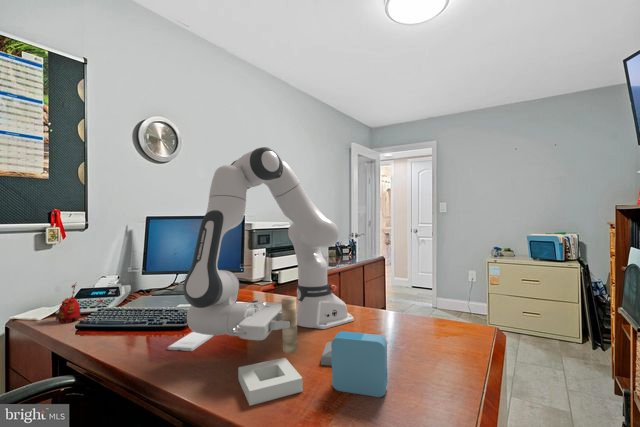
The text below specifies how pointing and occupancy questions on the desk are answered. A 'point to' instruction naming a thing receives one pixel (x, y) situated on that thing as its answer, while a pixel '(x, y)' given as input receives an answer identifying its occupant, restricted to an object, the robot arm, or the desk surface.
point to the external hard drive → (190, 342)
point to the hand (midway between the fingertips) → (292, 320)
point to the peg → (291, 332)
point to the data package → (359, 363)
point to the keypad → (327, 355)
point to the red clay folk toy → (69, 309)
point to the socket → (269, 380)
